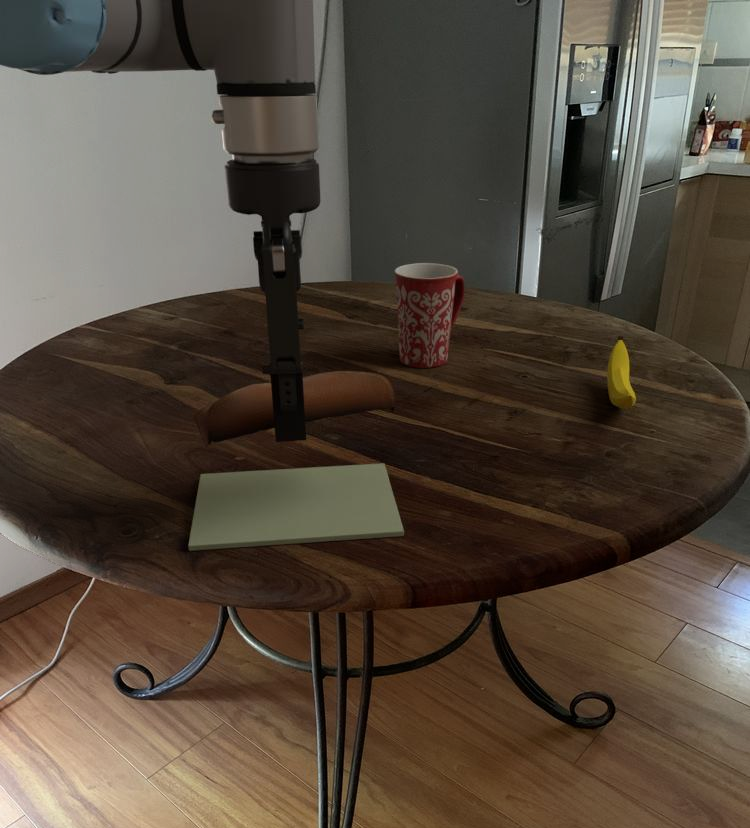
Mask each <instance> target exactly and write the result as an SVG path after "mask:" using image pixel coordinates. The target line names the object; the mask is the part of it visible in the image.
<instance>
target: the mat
mask: <svg viewBox="0 0 750 828" xmlns="http://www.w3.org/2000/svg"><path fill="white" fill-rule="evenodd" d="M198 481H199V482H198V488H197V493H196V498H195V505H194V511H193V516H192V521H191V528H190V533H189V538H188V540H189V541H188V545H187V548H188V551H189V552H193V551H194V552H195V551H206V550H222V549H224V550H225V549H237V548H251V547H253V548H254V547H266V546H282V545H295V544H307V543H308V544H310V543H323V542H324V543H325V542H337V541H338V542H339V541H352V540H353V541H354V540H366V539H367V540H368V539H381V538H395V537H404V536H405V530H404V527H403V526H404V525H403V523H402V520H401V519H402V518H401V516H400V513H399V509H398V505H397V503H396V498H395V495H394V491H393V489H392V485H391V482H390V477H389V475H388V471H387V467H386V464H385V462H384V463H383V462H382V463H381V462H380V463H367V464H366V463H365V464H352V465H351V464H349V465H334V466H333V465H332V466H331V465H329V466H315V467H296V468H281V469H266V470H265V469H264V470H247V471H246V470H245V471H230V472H213V473H211V472H210V473H201V474H200V476H199V480H198Z"/></svg>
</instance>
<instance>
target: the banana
mask: <svg viewBox="0 0 750 828" xmlns="http://www.w3.org/2000/svg"><path fill="white" fill-rule="evenodd" d="M624 339H625V337H624V336H623V335H618V336H617V342H616V344H615V345H614V346H613V348H612V350H611V351H610V354H609V355H610V356H609V359H608V364H607V374H606V375H607V376H606V380H607V392H608V397H609V400H610V403H611V404H612V405H613V406H615V407H617V408H618V409H621V410H626V409H631V408H633V406H634V405H635V404H636V401H637V398H636V397H637V396H636V393H635V391H634V390H633V387H632V385H631V382H630V358H629V353H628V349H627V347H626V344H625V342H624V341H623V340H624Z"/></svg>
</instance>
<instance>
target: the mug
mask: <svg viewBox="0 0 750 828" xmlns="http://www.w3.org/2000/svg"><path fill="white" fill-rule="evenodd" d="M393 272H394V276H395V287H396V289H395V290H396V307H397V328H398V349H399V350H398V351H399V360H400V362H401V363H402V364H404V365H405V366H408V367H412V368H419V369H429V368H436V367H440V366H443V365H445V363H447V361H448V357H449V348H450V339H451V338H450V337H451V332H452V329H454V328H453V327H454V326H455V323H456V321H457V319H458V316H459V314H460V312H461V309H462V306H463V303H464V299H465V293H466V291H465V290H466V284H465V279H464V278H463V276H461V275H459V274H458V273H459V271H458V269H457V268H456V267H454V266H451V265H447V264H443V263H434V262H433V263H432V262H419V263H418V262H417V263H409V264H404V265H401V266H398V267H396V268H395V269H394V271H393Z"/></svg>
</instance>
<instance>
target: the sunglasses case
mask: <svg viewBox="0 0 750 828" xmlns="http://www.w3.org/2000/svg"><path fill="white" fill-rule="evenodd" d="M303 391H304V408H305V423H309V422H314V421H319V420H324V419H327V418H337V417H344V416H350V415H355V414H361V413H367V412H373V411H378V410H389V411H390V412H391V413H393V412H394V411H395V408H396V397H395V396H396V395H395V390H394V388H393V386H392V384H391V382H390V381H389V379H388V378H387V377H385V376H384V375H382V374H379V373H373V372H366V371H356V370H355V371H354V370H338V371H336V370H335V371H327V372H321V373H315V374H311V375H308V376H307V375H306V376H303ZM194 420H195V423H196V427H197V429H198V431H199V433H200V436H201V440H202V441H203V444H204V446H205V447H208V446H209V445H210V446H211V444H212V443H218V442H224V441H228V440H232V439H236V438H241V437H243V436H247V435H253V434H256V433H259V432H260V431H268V430H272V429H275V426H274V414H273V401H272V389H271V382H264V383H253V384H250V385H247V386H243V387H241V388H238V389H236V390H234V391H231V392H229V393H228V394H226V395H224V396H222V397H221V398H219V399H216V400H214V401H212V402H210V403H207V404H206V405H204V406H203V407H201V408H200V409H197V410H196V411H195V413H194Z"/></svg>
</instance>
